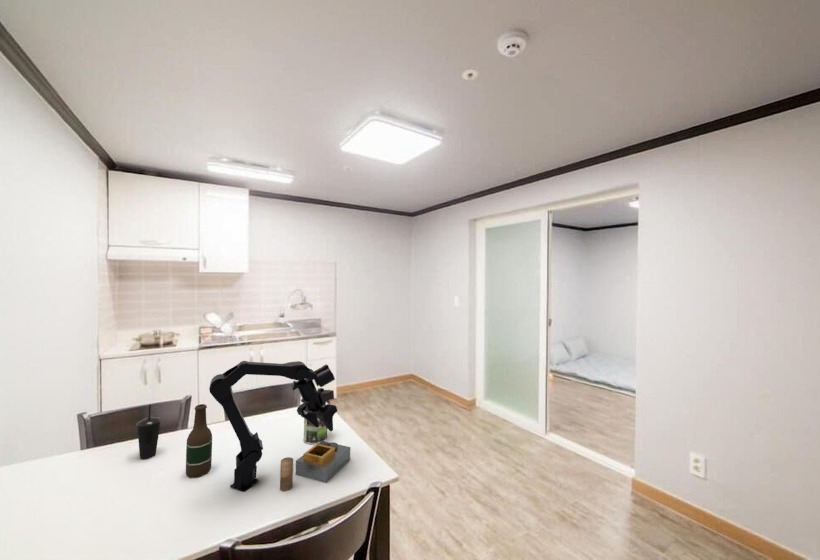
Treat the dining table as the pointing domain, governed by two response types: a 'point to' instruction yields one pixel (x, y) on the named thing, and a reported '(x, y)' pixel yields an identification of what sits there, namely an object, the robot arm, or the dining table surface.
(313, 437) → the coffee can
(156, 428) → the drinking cup
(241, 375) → the robot arm
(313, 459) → the grey block with socket
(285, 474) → the wooden plug
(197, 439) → the beer bottle
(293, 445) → the dining table surface
